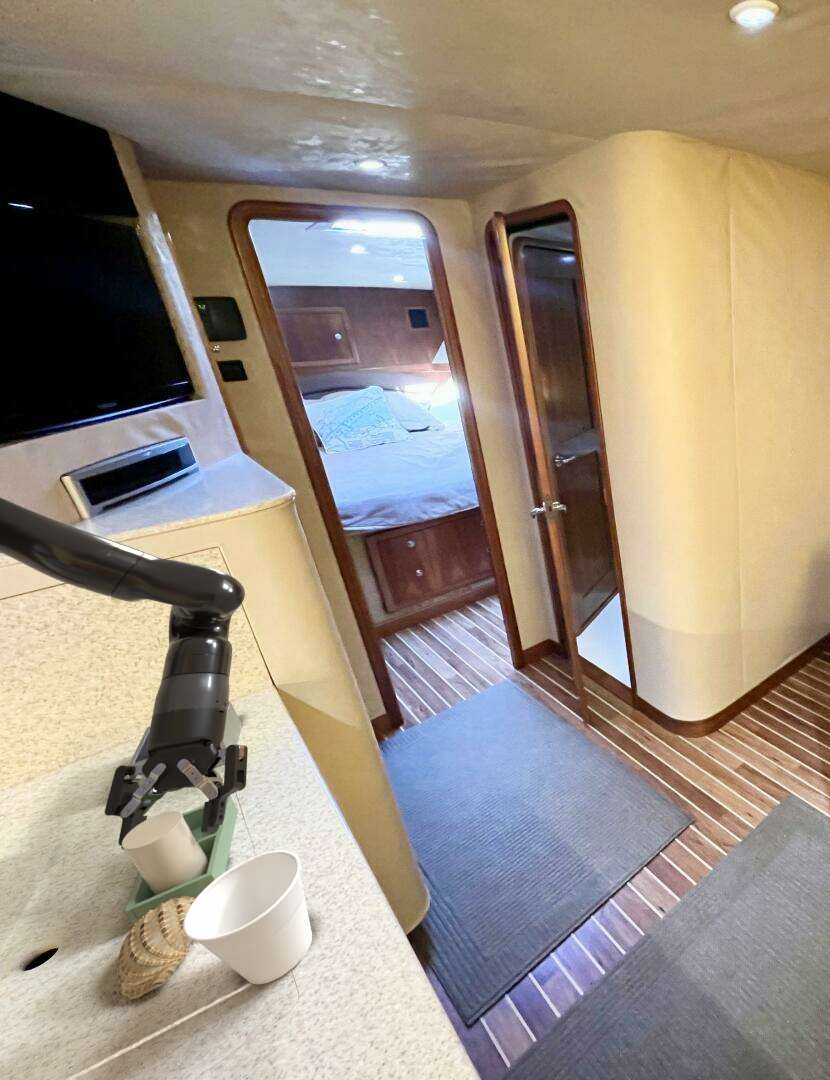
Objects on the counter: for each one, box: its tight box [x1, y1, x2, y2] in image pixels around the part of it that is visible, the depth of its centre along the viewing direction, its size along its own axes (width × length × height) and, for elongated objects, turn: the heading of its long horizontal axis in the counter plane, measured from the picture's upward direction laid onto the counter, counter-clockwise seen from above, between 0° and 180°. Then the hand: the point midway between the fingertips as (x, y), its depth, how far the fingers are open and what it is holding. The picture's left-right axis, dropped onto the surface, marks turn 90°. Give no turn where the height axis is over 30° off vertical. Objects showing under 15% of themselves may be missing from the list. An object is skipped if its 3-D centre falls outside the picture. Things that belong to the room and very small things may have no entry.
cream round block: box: [122, 810, 210, 896], centre depth 68 cm, size 5×5×10 cm
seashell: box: [116, 896, 196, 1002], centre depth 61 cm, size 8×6×10 cm
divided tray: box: [124, 795, 239, 926], centre depth 72 cm, size 8×15×4 cm, turn 34°
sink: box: [128, 701, 243, 790], centre depth 92 cm, size 11×11×6 cm
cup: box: [183, 849, 313, 985], centre depth 59 cm, size 10×10×11 cm
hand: (171, 840), depth 68 cm, fingers open, 8 cm apart
